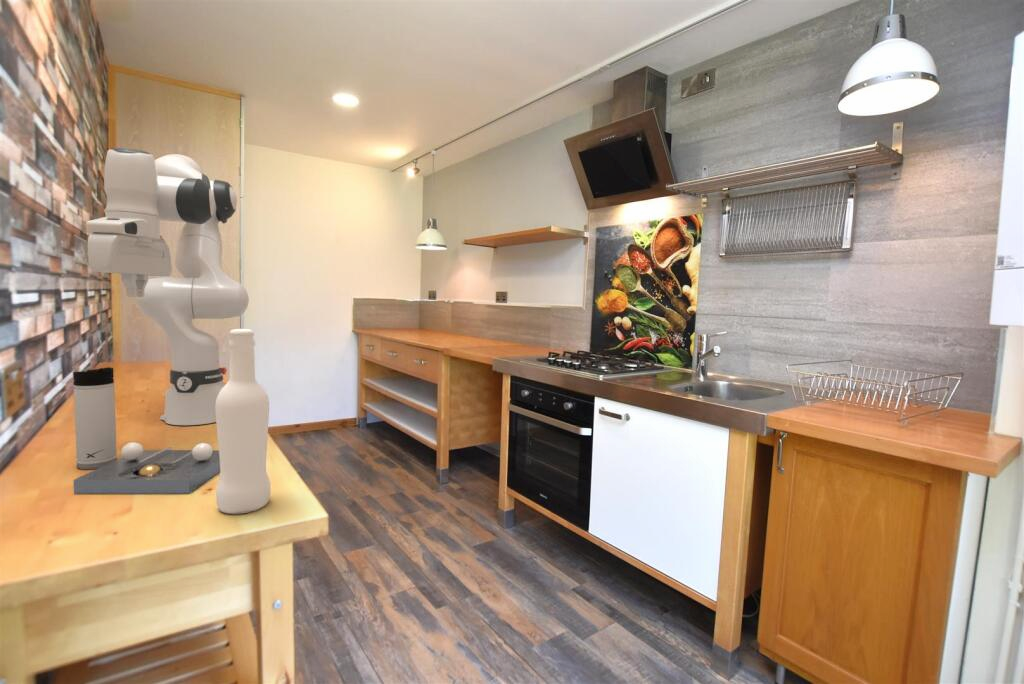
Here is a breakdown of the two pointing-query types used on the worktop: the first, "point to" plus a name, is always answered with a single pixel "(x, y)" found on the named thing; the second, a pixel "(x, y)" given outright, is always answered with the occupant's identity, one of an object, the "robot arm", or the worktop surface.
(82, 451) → the travel mug
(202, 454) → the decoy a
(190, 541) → the worktop surface
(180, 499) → the worktop surface
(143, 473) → the brass ball
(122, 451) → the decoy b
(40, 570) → the worktop surface
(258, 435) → the bottle
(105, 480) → the plate
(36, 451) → the worktop surface
